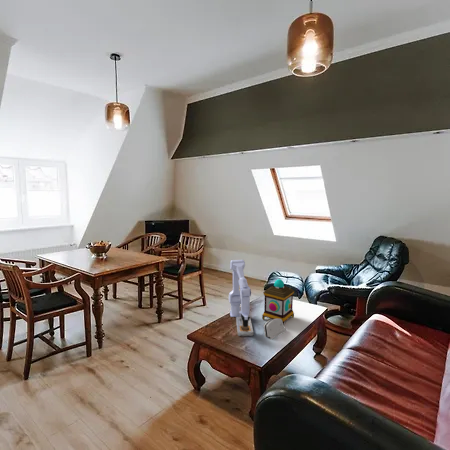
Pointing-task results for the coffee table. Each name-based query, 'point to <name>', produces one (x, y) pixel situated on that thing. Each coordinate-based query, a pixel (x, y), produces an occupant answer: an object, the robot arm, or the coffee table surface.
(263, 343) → the coffee table surface
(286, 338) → the coffee table surface
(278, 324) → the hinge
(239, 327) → the peg-in-hole board
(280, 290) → the decorative lantern
